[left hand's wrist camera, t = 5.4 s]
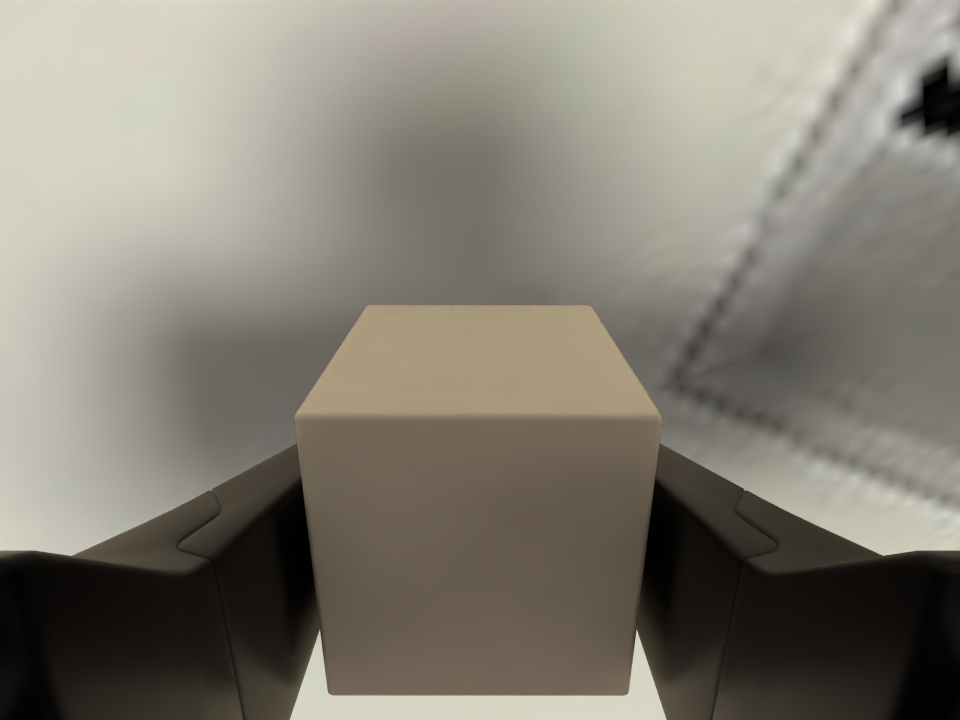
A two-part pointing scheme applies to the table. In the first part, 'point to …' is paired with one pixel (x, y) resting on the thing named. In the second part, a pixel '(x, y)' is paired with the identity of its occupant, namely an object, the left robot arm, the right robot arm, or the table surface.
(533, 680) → the block
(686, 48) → the table surface
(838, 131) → the table surface
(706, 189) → the table surface
